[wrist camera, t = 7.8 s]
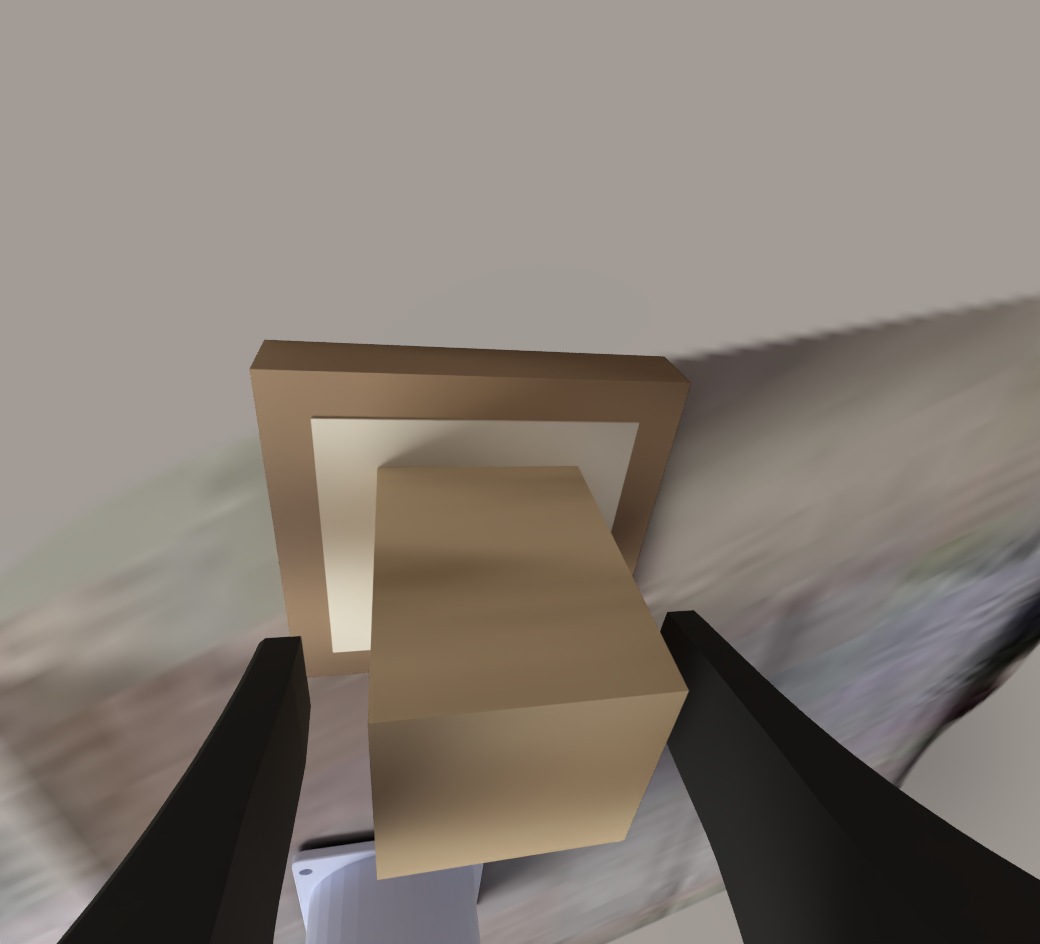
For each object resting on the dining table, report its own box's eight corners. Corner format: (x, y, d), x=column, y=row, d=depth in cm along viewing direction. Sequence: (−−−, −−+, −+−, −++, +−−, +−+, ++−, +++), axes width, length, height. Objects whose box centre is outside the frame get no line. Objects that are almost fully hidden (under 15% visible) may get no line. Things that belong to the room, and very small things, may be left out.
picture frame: (595, 615, 19) (609, 654, 17) (303, 634, 17) (296, 679, 15) (664, 357, 14) (691, 384, 12) (264, 339, 12) (249, 369, 10)
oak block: (550, 603, 16) (623, 840, 11) (381, 614, 15) (377, 880, 10) (577, 465, 13) (689, 690, 8) (377, 467, 12) (368, 724, 7)
